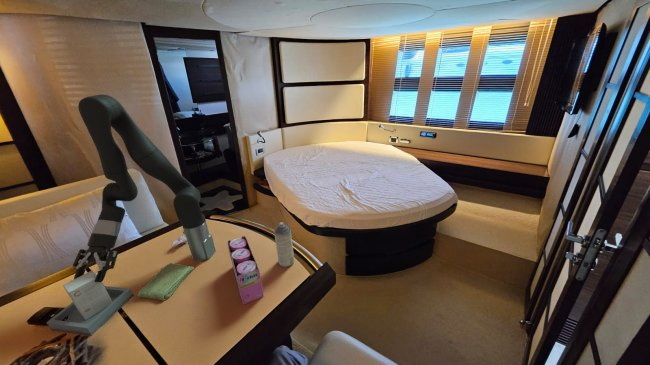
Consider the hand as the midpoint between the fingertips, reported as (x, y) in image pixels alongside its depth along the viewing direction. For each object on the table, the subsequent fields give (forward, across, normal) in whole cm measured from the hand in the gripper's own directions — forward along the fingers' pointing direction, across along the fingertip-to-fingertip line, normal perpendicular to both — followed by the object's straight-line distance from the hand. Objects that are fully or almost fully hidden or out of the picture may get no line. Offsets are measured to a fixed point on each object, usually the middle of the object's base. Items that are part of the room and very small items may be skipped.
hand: (87, 281), depth 85 cm
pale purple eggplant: (-18, +5, +37) cm, 42 cm away
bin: (+10, -1, +7) cm, 13 cm away
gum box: (-3, +48, +22) cm, 53 cm away
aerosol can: (-11, +61, +31) cm, 69 cm away
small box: (+9, -1, +7) cm, 12 cm away
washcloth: (0, +16, +19) cm, 25 cm away
